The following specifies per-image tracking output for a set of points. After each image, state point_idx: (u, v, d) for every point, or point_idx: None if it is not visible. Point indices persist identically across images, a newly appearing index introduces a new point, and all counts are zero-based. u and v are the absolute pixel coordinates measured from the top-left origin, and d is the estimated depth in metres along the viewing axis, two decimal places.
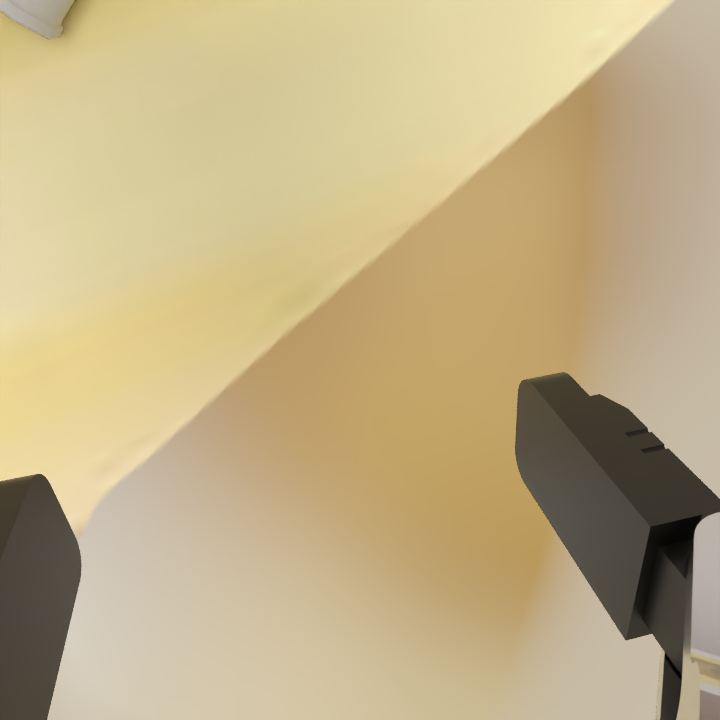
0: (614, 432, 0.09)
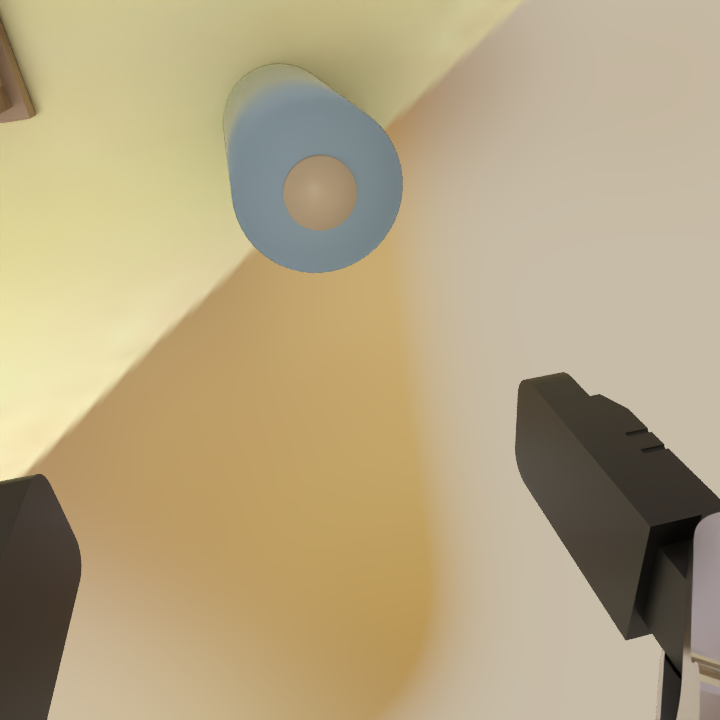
0: (614, 432, 0.09)
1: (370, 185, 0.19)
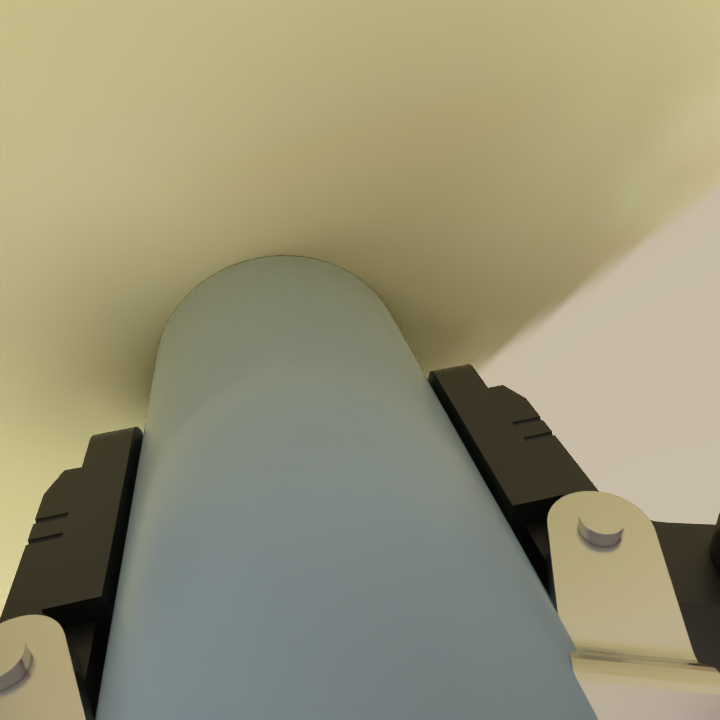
0: (501, 419, 0.09)
1: None
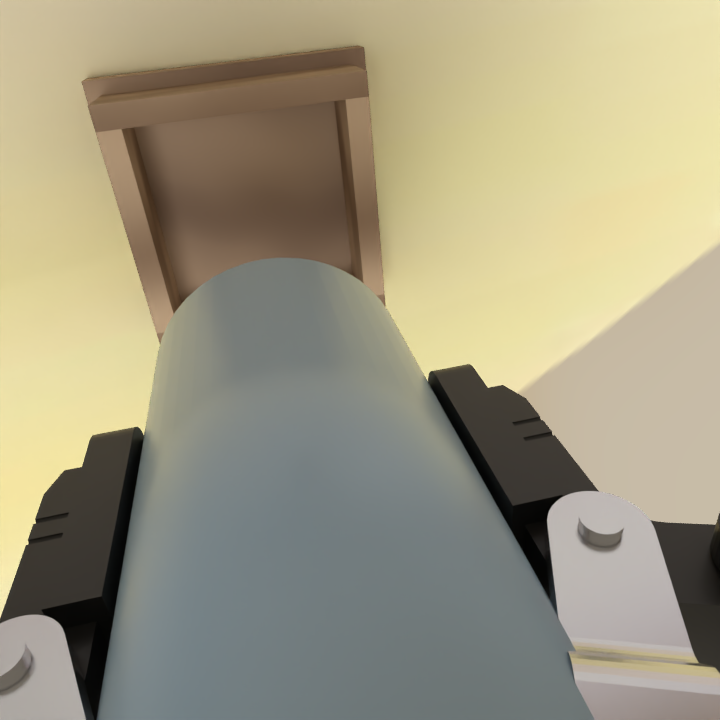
0: (501, 419, 0.09)
1: None
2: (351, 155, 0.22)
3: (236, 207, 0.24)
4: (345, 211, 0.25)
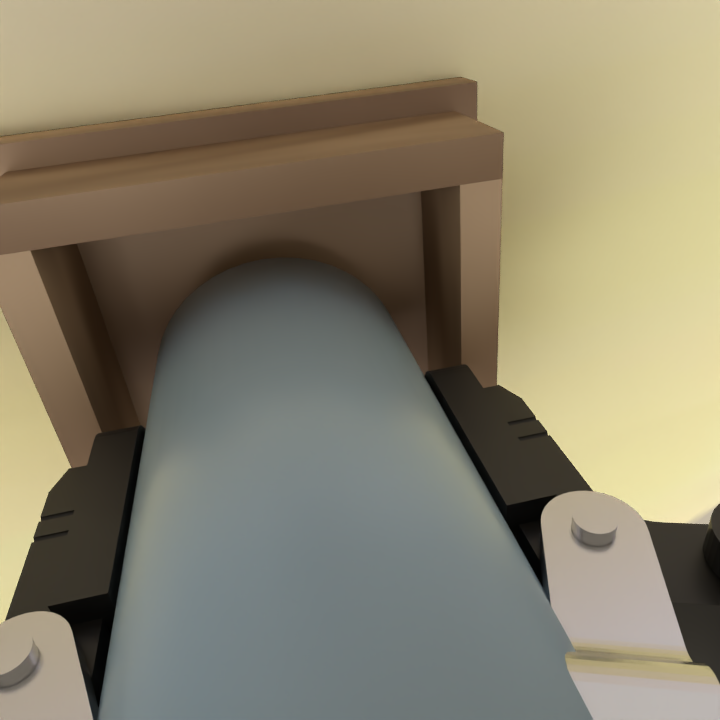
0: (496, 420, 0.09)
1: None
2: (461, 279, 0.12)
3: None
4: (426, 341, 0.16)
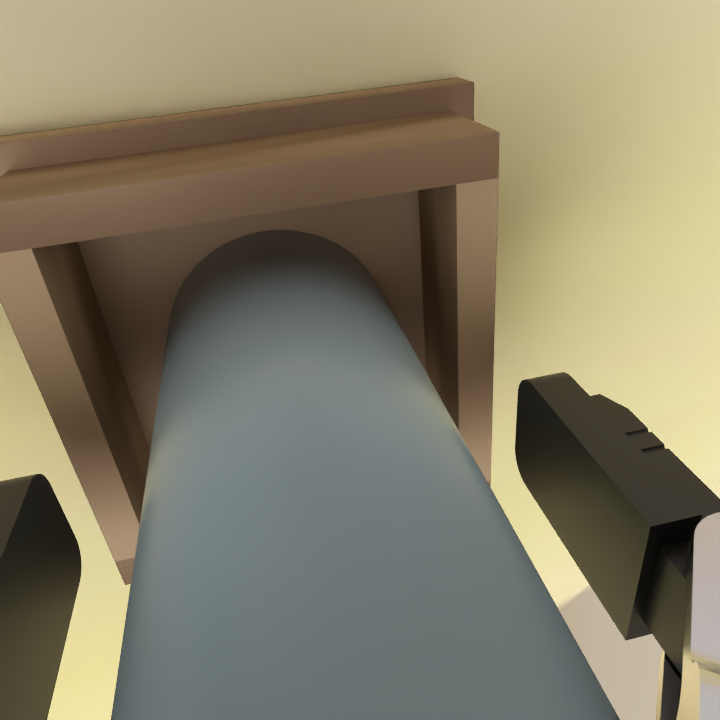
0: (614, 432, 0.09)
1: None
2: (457, 277, 0.12)
3: None
4: (423, 340, 0.16)
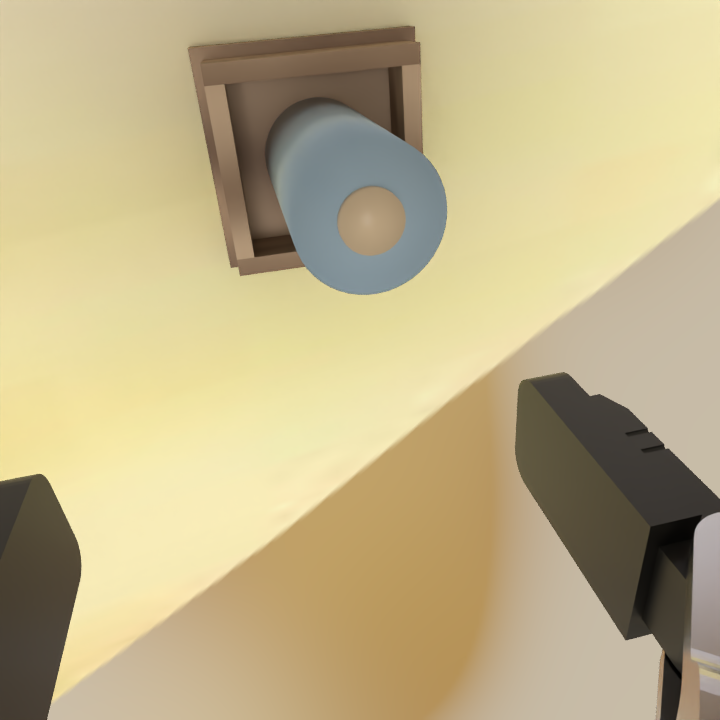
0: (614, 432, 0.09)
1: (417, 214, 0.20)
2: (404, 112, 0.27)
3: None
4: None
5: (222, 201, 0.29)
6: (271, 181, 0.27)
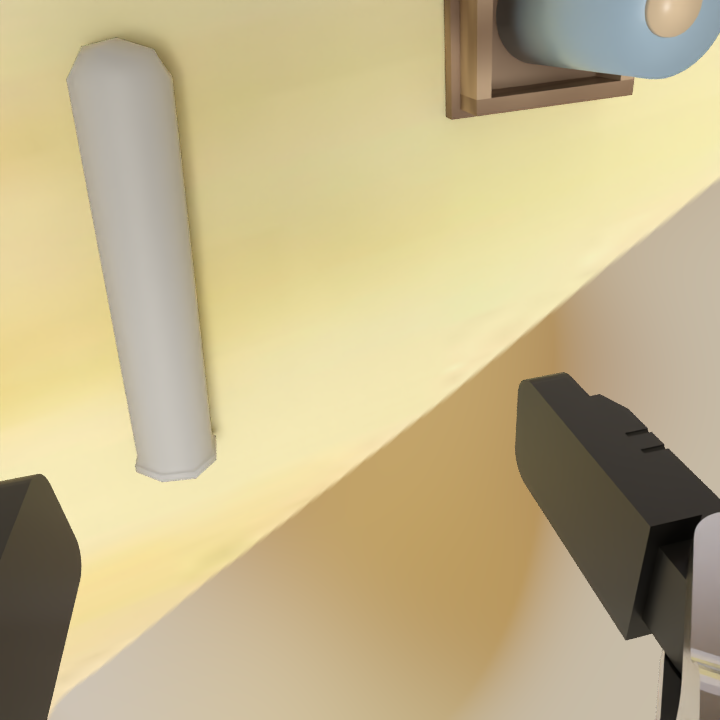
0: (614, 432, 0.09)
1: None
2: None
3: None
4: None
5: (454, 53, 0.33)
6: (515, 24, 0.31)
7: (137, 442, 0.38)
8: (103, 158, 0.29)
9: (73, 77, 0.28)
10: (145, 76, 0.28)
